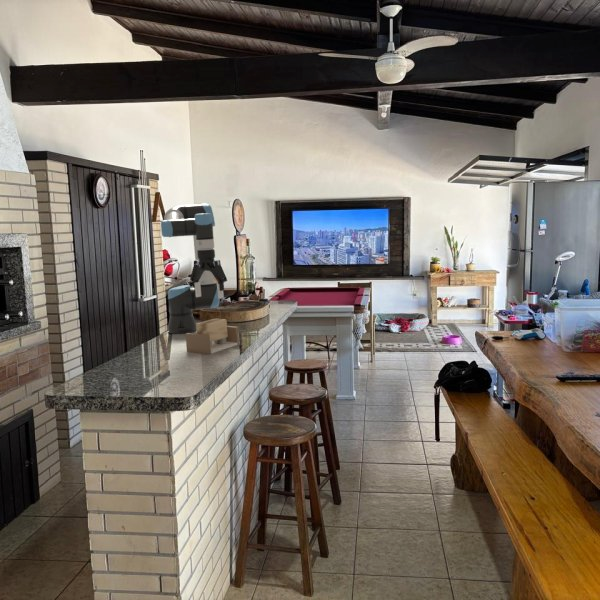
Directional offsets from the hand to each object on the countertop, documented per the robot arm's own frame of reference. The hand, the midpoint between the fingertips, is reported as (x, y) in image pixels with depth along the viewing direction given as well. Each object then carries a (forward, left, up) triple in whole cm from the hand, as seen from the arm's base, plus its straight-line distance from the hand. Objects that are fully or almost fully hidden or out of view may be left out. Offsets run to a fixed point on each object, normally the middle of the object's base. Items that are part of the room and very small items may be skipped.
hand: (209, 297), depth 250 cm
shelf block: (0, -1, -19) cm, 19 cm away
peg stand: (0, 0, -23) cm, 23 cm away
